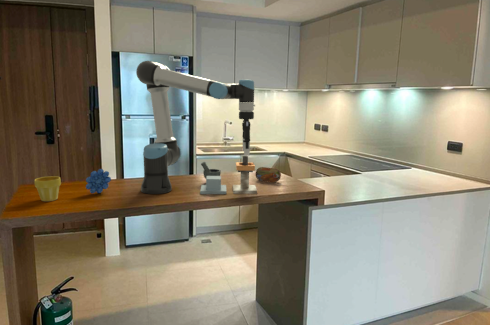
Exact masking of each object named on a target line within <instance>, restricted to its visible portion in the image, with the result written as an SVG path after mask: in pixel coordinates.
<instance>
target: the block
mask: <svg viewBox="0 0 490 325" xmlns="http://www.w3.org/2000/svg"><path fill="white" fill-rule="evenodd" d="M200 186H201V187H200V191H199V192H200V193H199V194H200V195H227V184H222V175H220V176H207V177H206V179H205V184H201V185H200Z"/></svg>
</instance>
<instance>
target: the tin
mask: <svg viewBox="0 0 490 325" xmlns="http://www.w3.org/2000/svg"><path fill="white" fill-rule="evenodd" d="M255 177H256V179H257V180H258V181H259V182H264V183H278V182H279V181H280V180H281V177H282V174H281V171H280V169H278V168H277V167H267V166H260V167H258V168H257V169H255Z"/></svg>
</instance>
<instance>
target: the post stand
mask: <svg viewBox="0 0 490 325" xmlns="http://www.w3.org/2000/svg"><path fill="white" fill-rule="evenodd" d="M241 162H242V165H248V162H249V155H242V161H241ZM253 172H254V171H240V170H237V173H240V184H232V193H233V194H251V195H252V194H253V195H255V194H256V195H257V194H258V189H257V187H256V184H250V173H253Z"/></svg>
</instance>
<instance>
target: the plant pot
mask: <svg viewBox="0 0 490 325" xmlns="http://www.w3.org/2000/svg"><path fill="white" fill-rule="evenodd" d="M61 184H62V179H61V177H60V176H55V175H53V176H51V175H50V176H41V177H37V178H35V179H34V187H35V188H36V189H37V192H38V196H39V198H40V200H41V201H42V202H54V201H56V200H58V198H59V192H60V191H59V190H60V186H61Z"/></svg>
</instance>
